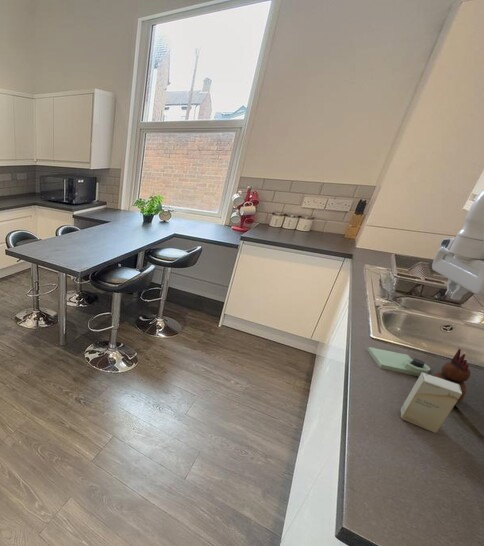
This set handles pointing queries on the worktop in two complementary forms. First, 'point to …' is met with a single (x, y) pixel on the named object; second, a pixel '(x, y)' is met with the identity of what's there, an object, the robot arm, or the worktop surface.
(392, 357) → the kitchen scale
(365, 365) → the worktop surface
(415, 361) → the tare button
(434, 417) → the cosmetic box
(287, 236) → the worktop surface
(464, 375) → the wooden figurine
